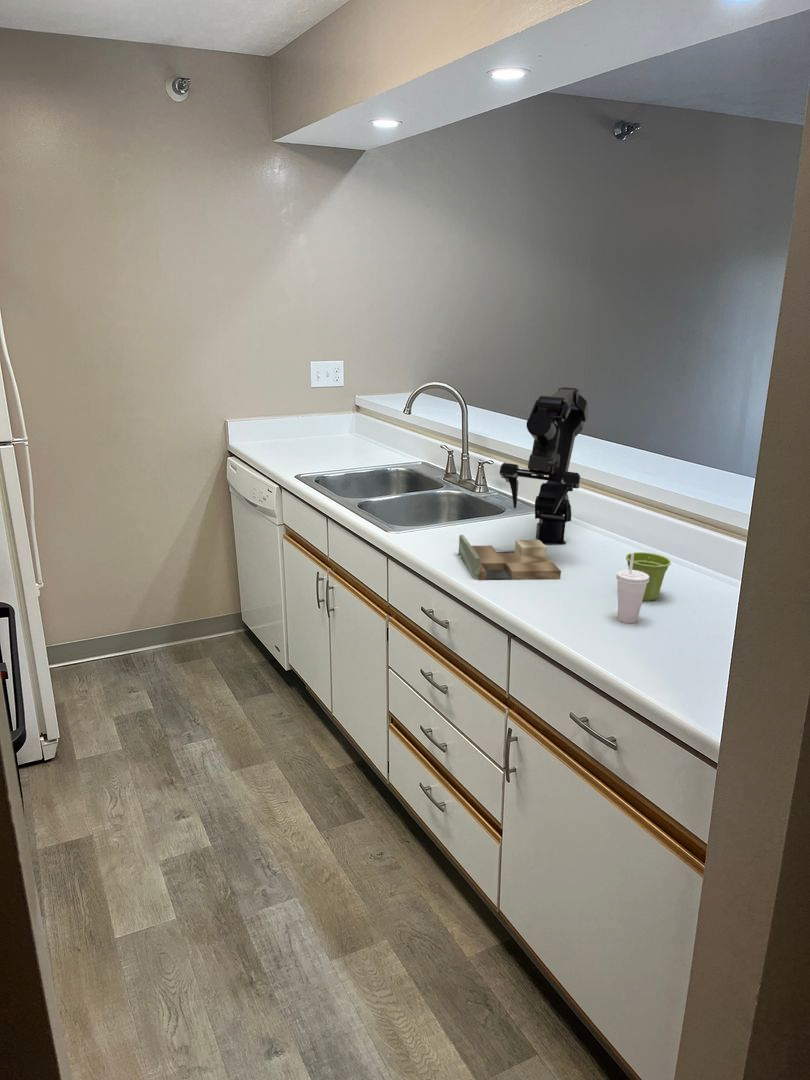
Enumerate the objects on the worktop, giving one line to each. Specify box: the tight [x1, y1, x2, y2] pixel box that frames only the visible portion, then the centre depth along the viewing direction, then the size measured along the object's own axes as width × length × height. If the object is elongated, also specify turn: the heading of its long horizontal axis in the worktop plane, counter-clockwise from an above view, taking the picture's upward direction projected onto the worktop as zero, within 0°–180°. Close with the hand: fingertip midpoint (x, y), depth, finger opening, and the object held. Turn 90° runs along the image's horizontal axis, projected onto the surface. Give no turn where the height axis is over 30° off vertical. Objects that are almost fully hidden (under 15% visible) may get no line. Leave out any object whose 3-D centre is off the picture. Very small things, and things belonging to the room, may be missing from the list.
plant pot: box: [625, 551, 672, 602], centre depth 175 cm, size 9×9×9 cm
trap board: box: [458, 534, 562, 581], centre depth 193 cm, size 20×20×5 cm
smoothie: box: [615, 552, 649, 624], centre depth 161 cm, size 6×6×14 cm
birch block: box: [514, 539, 548, 562], centre depth 194 cm, size 6×6×4 cm
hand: (533, 511), depth 192 cm, fingers open, 9 cm apart
